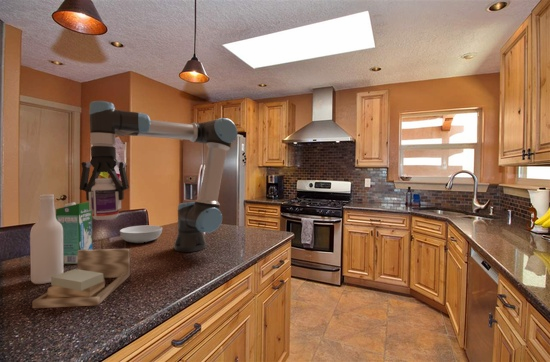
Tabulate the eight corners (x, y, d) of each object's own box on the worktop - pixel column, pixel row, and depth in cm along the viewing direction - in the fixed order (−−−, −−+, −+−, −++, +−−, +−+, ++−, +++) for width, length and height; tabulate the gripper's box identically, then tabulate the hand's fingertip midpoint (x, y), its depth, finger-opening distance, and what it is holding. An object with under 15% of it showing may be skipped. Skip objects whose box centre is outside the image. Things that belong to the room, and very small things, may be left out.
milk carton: (71, 257, 119) (70, 201, 118) (92, 256, 120) (92, 201, 119) (56, 264, 110) (55, 203, 109) (79, 263, 111) (78, 203, 110)
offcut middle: (104, 286, 85) (104, 278, 85) (90, 296, 78) (90, 288, 78) (66, 286, 85) (65, 278, 85) (47, 296, 78) (47, 288, 78)
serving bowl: (151, 246, 137) (151, 233, 137) (111, 246, 137) (111, 232, 137) (168, 236, 158) (168, 225, 158) (133, 236, 158) (133, 224, 158)
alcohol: (46, 274, 99) (45, 193, 98) (69, 275, 99) (69, 193, 98) (23, 284, 90) (22, 195, 89) (49, 284, 90) (48, 195, 89)
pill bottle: (124, 217, 100) (122, 178, 99) (104, 221, 92) (102, 179, 91) (107, 215, 102) (106, 178, 101) (86, 219, 94) (85, 178, 94)
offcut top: (103, 281, 83) (103, 273, 83) (81, 290, 76) (80, 282, 76) (75, 276, 86) (75, 268, 86) (51, 285, 80) (51, 276, 80)
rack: (129, 275, 99) (129, 248, 98) (97, 305, 77) (97, 270, 77) (80, 277, 97) (79, 249, 96) (32, 308, 75) (31, 272, 75)
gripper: (138, 147, 101) (140, 207, 102) (77, 146, 98) (80, 208, 99) (130, 145, 94) (132, 210, 95) (64, 145, 91) (67, 211, 92)
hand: (105, 209), depth 97 cm, fingers closed on pill bottle, 8 cm apart
